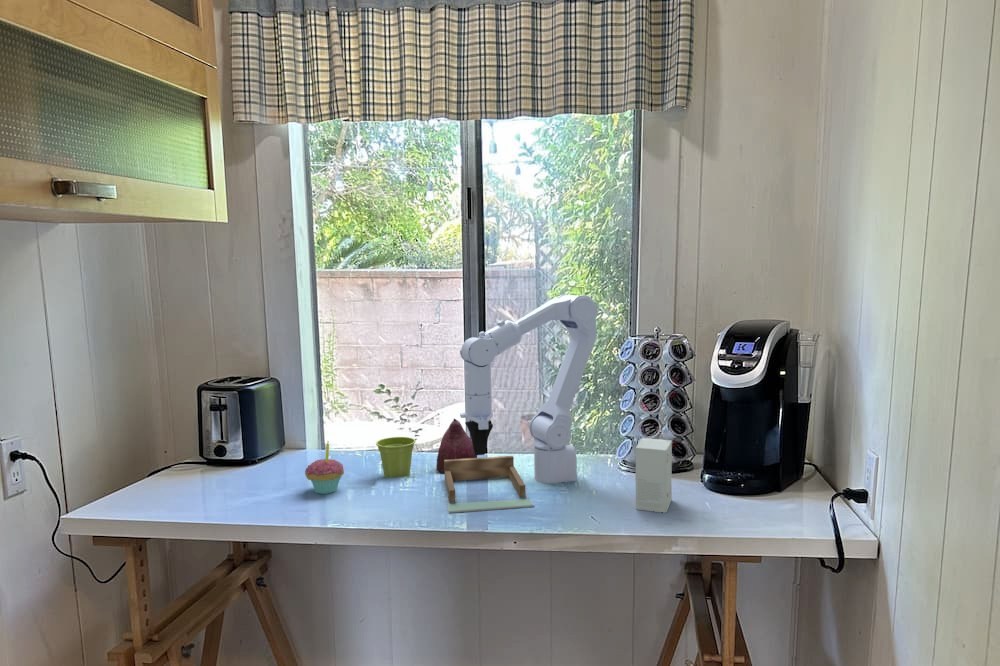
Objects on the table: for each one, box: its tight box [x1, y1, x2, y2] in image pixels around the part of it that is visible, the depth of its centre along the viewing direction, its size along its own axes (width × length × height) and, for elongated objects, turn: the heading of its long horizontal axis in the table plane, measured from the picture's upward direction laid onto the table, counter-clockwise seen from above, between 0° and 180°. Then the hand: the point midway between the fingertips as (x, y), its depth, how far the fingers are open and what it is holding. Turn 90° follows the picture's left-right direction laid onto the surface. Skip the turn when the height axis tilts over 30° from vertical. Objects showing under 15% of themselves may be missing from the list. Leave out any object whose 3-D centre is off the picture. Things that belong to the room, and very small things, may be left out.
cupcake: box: [304, 442, 345, 495], centre depth 141 cm, size 9×8×12 cm
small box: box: [634, 437, 673, 514], centre depth 128 cm, size 8×6×13 cm
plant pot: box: [375, 436, 416, 479], centre depth 150 cm, size 9×9×9 cm
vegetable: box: [435, 418, 478, 475], centre depth 154 cm, size 10×10×15 cm
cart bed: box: [444, 455, 527, 504], centre depth 136 cm, size 16×16×6 cm
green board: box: [446, 498, 535, 515], centre depth 126 cm, size 17×1×5 cm
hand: (479, 454), depth 136 cm, fingers closed
